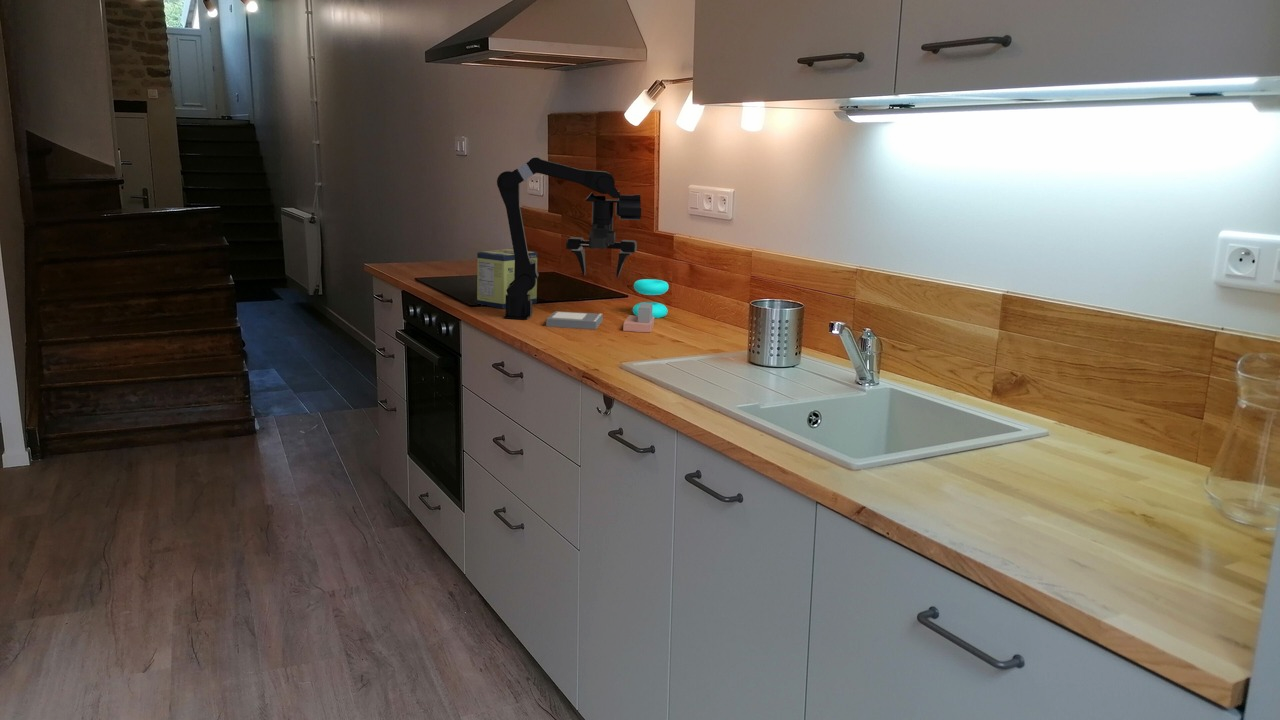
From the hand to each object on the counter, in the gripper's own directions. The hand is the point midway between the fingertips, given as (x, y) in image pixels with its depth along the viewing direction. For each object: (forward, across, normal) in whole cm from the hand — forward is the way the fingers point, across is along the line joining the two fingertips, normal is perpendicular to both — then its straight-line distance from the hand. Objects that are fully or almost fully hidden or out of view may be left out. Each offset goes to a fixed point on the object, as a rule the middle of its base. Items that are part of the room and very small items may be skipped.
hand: (600, 276), depth 255 cm
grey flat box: (+12, -5, -8) cm, 15 cm away
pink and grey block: (+12, +12, -8) cm, 19 cm away
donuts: (+12, +13, +11) cm, 21 cm away
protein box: (+12, -30, +16) cm, 36 cm away
